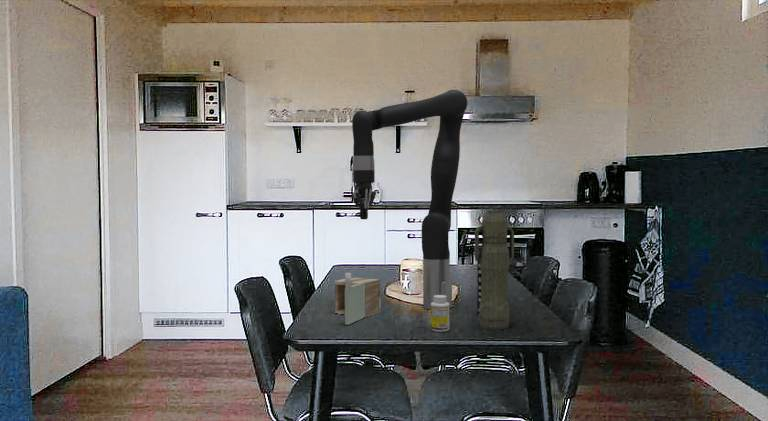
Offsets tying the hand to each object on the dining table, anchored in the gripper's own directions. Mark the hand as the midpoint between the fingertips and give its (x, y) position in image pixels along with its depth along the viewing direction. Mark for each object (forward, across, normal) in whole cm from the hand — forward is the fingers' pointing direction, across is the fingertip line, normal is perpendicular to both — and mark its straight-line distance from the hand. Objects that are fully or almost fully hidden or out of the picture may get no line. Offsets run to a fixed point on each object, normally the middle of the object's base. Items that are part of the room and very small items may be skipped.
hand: (364, 219), depth 229 cm
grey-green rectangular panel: (+31, -20, -10) cm, 38 cm away
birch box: (+31, -9, -3) cm, 32 cm away
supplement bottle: (+31, -18, -38) cm, 52 cm away
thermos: (+31, -5, -50) cm, 59 cm away
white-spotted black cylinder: (+31, +9, -43) cm, 54 cm away
